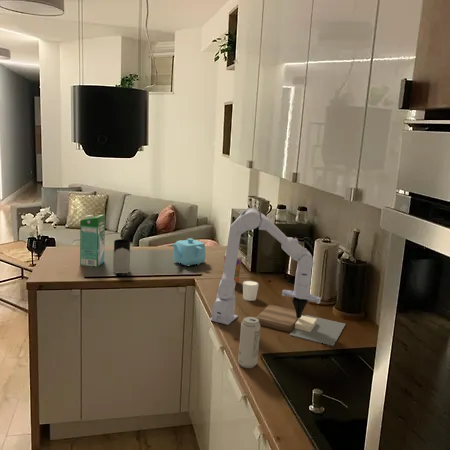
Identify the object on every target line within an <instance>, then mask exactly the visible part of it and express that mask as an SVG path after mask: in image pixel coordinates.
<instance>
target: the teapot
mask: <svg viewBox="0 0 450 450" xmlns="http://www.w3.org/2000/svg"><path fill="white" fill-rule="evenodd" d="M170 245H171V246H172V247H173V257H172V258H173V261H174V262H176V263H178V264H180V263H181V264H180V265H184V266H186V265H191V266H193V265H196V264H197V265H196V266H199V265H201V264H202V263H203V264H204V263H205V261H206V245H205V243H204V242H203V241H200V240H196V239H193V238H192V237H190V238H188V237H187V239H184V240H183V239H182V240H181V239H180V240H177V241H176V242H175V243H170Z"/></svg>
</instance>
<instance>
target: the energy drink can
mask: <svg viewBox="0 0 450 450" xmlns="http://www.w3.org/2000/svg"><path fill="white" fill-rule="evenodd" d="M256 317H257V316H245V317H243V319H242V322H241V323H240V334H239V346H238V347H239V348H238V355H237V356H238V357H237V358H238V360H237V362H238V363H239V366H240V367H242V368H245V369H253V368H254V367H256V365H257V364H258V360H259V359H258V357H259V348H260V337H261V326H262V325H260V323H259V319H258V318H256Z"/></svg>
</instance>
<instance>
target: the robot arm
mask: <svg viewBox="0 0 450 450" xmlns="http://www.w3.org/2000/svg"><path fill="white" fill-rule="evenodd" d="M257 228H258V230H259V231H260V230H261V231H266V232H267V233H268V234H270V235H271V236H272V238H274V239H275V240H276V241H278V242H279V243H280V244H281V250H283V251H284V252H285V253H286V254H287V255H288V257H290V258H291V259H292V260H293V261H296V262H297V264H296V266H297V267H296V271H295V279H294V286H293V287H294V288H293V290H288V289H283V290H282V291H281V296H282V297H289V298H292V300H291V301H292V305H293V306H294V310H296V317H297V318H301V316H302V312H303V313H304V310H305V308H306V307H307V306H306V305H307V304H308V303H309V302H312V303H316V304H318V305H319V304H321V298H322V297H321V296H316V295H314V294H311V293H310V290H311V279H312V268H313V267H314V265H315V264H314V263H315V262H314V258H313V255H312V253H311V252H310V250H308V249H307V248H306V247H303V246H302V245H301V244H300V243H299V240H298V239H297V238H296V237H295V238H294V237H291V236H290V237H289V236H286V234H285V233H284V232H282V230H281V229H279V227H278V226H277V225H276V224H275V223H274V222H273V221H272V220H271V219H270V218H269V217H267V216H266V215H265V214H264V213H262V212H261V211H259V209H257V208H255V207H250V208H249V207H248V208H247V209H245V210H243V211H242V212H241V213H240V214H239V216H238V217H237V218H236V219H235V220H234V221H233V222H232V223H231V224H230V227H229V232H228V237H227V245H226V249H225V250H226V251H225V253H226V257H225V264H224V263H223V270H222V272H223V273H222V276H221V278H220V280H219V283H218V284H219V285H218V288H217V293H216V299H215V301H214V302H213V303H212V308H211V309H212V310H211V317H210V318H209V321H211V322H216V323H220V324H223V325H227V326H228V325H230V324H231V323H232V322H233V321H234V320H236V319H237V318H238V317H239V316H238V315H237V314H235V309H236V308H235V307H236V294H235V288H236V285H237V284H236V283H235V280H234V275H235V269H236V262H237V256H238V250H240V249H239V248H240V244H241V237H242V234H244V233H246V232H247V231H250V230H252V231H253V230H255V229H257Z"/></svg>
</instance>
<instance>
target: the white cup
mask: <svg viewBox="0 0 450 450" xmlns="http://www.w3.org/2000/svg"><path fill="white" fill-rule="evenodd" d="M258 291H259V282H257V281H256V280H255V281H254V280H243V282H242V299H243V300H245V301H248V302H249V301H250V302H251V301H253V302H254V301H256V300H257V297H258Z"/></svg>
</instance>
